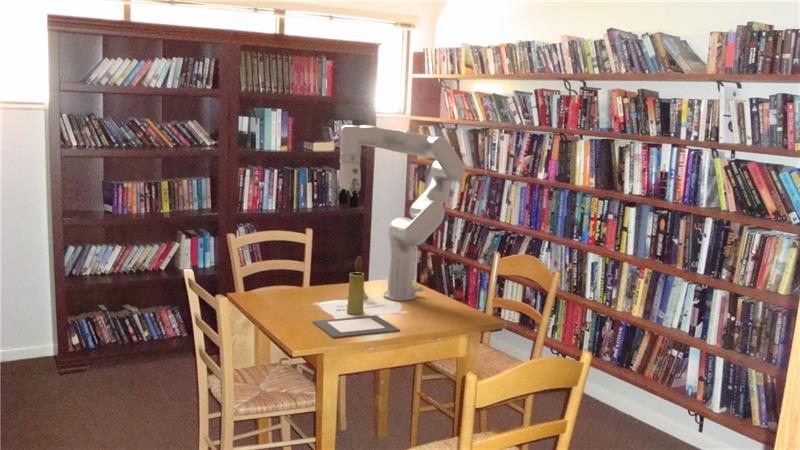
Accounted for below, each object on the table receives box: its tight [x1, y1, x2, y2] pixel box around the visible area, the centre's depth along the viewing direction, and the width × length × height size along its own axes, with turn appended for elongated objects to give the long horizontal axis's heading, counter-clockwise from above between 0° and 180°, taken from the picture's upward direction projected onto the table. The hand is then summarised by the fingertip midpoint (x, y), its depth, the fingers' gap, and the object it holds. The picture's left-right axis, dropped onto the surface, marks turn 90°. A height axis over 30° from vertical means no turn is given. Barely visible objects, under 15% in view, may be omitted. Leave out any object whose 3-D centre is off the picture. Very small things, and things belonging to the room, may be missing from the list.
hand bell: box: [346, 256, 369, 300], centre depth 283 cm, size 8×8×16 cm
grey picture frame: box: [312, 314, 401, 339], centre depth 245 cm, size 24×18×1 cm
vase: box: [346, 271, 365, 316], centre depth 262 cm, size 6×6×14 cm
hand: (347, 205), depth 271 cm, fingers open, 9 cm apart
